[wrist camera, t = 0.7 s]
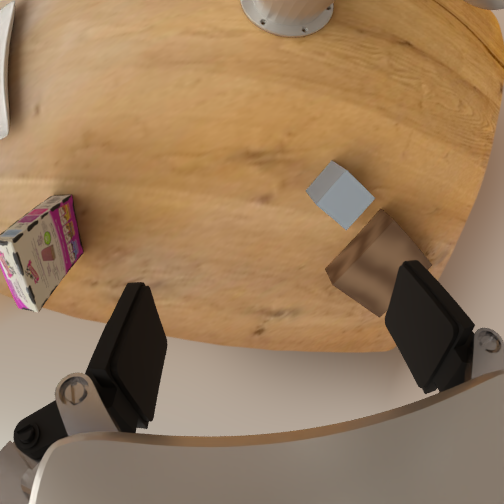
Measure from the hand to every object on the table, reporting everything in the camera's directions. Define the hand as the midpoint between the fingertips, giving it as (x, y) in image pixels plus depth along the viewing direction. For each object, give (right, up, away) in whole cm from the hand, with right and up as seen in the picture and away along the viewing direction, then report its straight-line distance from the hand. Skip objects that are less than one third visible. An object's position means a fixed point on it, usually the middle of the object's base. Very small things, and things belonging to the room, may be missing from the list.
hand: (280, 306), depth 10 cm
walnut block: (+21, +1, +37) cm, 43 cm away
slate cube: (+11, +11, +30) cm, 34 cm away
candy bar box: (-33, +7, +30) cm, 45 cm away
